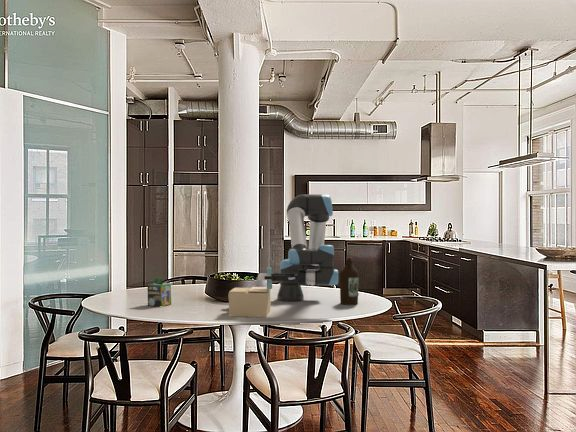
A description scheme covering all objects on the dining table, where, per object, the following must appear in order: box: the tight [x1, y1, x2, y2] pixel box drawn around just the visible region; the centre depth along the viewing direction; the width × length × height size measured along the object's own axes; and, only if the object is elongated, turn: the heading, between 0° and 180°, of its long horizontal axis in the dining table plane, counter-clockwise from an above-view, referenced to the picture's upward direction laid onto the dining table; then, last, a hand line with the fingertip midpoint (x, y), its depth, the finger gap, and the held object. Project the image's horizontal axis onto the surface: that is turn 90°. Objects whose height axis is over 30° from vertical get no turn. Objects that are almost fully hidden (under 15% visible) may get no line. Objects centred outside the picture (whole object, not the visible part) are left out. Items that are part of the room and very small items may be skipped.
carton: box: [227, 287, 271, 318], centre depth 275 cm, size 16×18×12 cm
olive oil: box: [338, 257, 360, 306], centre depth 306 cm, size 11×11×25 cm
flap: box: [248, 267, 273, 292], centre depth 274 cm, size 14×10×11 cm
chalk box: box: [146, 277, 172, 307], centre depth 300 cm, size 9×9×15 cm
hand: (258, 276), depth 274 cm, fingers closed on flap, 5 cm apart
